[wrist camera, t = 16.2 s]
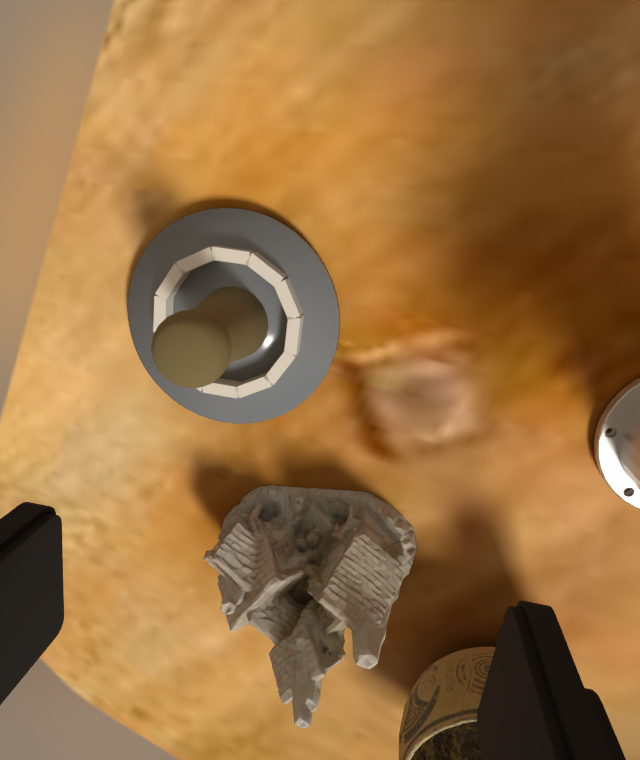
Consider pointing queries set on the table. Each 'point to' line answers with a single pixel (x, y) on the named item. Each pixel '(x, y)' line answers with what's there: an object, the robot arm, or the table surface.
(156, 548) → the table surface
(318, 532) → the ceramic cottage
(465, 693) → the ceramic bowl
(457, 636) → the table surface
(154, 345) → the cork
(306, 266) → the round tray
